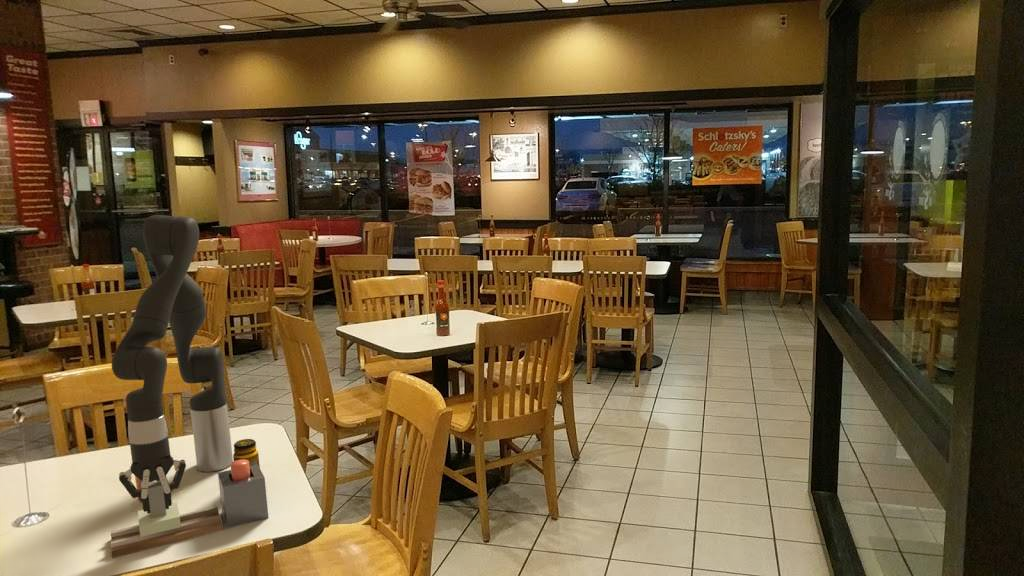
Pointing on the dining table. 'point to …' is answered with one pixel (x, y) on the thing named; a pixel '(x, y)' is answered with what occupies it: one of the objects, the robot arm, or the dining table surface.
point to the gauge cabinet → (243, 497)
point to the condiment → (246, 451)
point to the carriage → (158, 513)
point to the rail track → (166, 532)
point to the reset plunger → (240, 470)
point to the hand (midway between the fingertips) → (157, 509)
